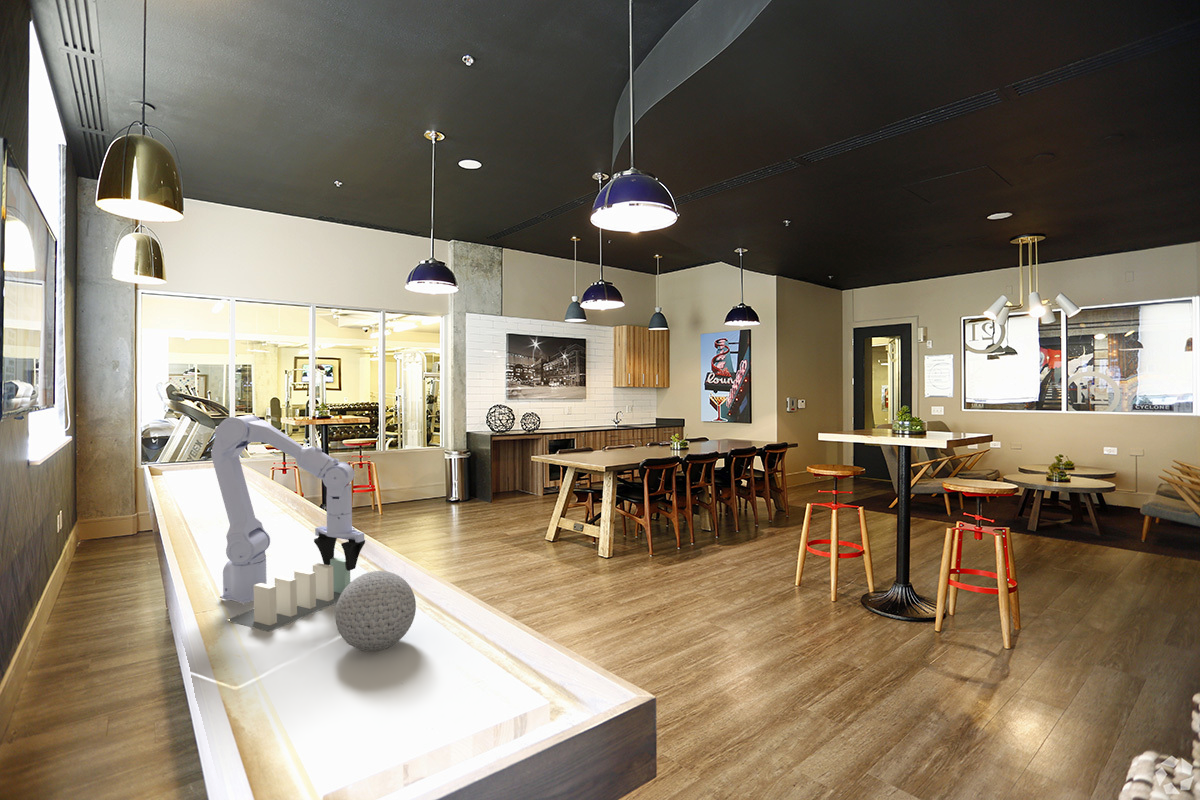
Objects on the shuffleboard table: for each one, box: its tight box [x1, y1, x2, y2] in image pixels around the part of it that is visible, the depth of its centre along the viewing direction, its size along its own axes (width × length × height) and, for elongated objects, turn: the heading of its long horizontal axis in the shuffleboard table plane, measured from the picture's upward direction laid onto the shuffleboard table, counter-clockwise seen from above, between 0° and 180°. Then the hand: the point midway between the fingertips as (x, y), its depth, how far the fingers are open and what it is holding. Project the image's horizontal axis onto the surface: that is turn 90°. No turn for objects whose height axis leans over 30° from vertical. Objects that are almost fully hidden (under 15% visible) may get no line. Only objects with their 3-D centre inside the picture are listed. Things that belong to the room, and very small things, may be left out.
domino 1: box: [253, 583, 277, 625], centre depth 128 cm, size 2×5×8 cm, turn 66°
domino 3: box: [293, 568, 316, 609], centre depth 137 cm, size 2×5×8 cm, turn 66°
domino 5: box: [330, 556, 351, 593], centre depth 146 cm, size 2×5×8 cm, turn 66°
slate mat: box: [228, 581, 352, 633], centre depth 140 cm, size 14×29×1 cm, turn 156°
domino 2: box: [274, 575, 297, 617], centre depth 133 cm, size 2×5×8 cm, turn 66°
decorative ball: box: [334, 570, 417, 652], centre depth 118 cm, size 15×15×15 cm
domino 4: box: [312, 562, 334, 601], centre depth 142 cm, size 2×5×8 cm, turn 66°
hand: (339, 567), depth 146 cm, fingers open, 7 cm apart
